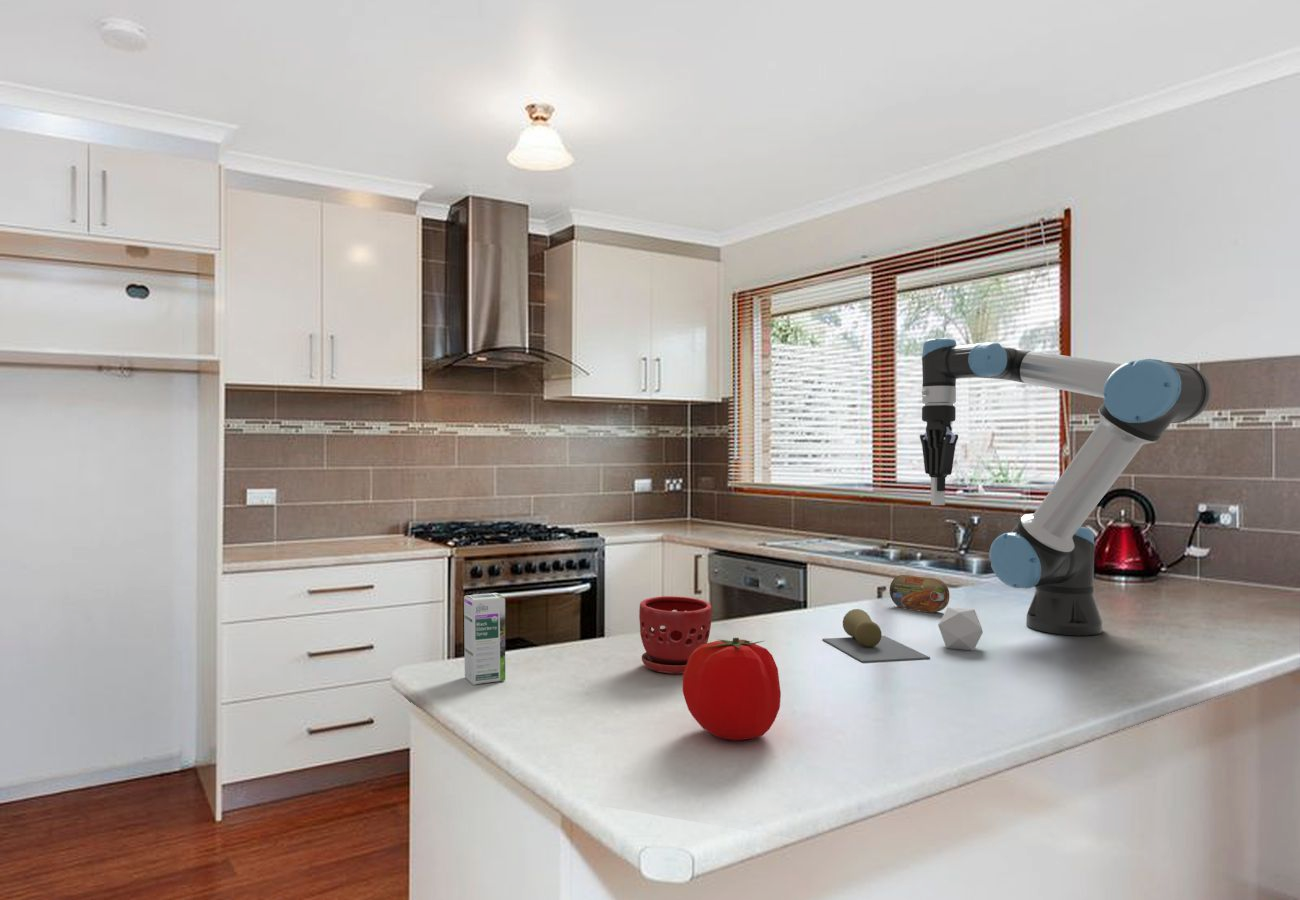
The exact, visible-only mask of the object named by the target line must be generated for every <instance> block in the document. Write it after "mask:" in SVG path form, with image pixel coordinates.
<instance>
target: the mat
mask: <svg viewBox="0 0 1300 900" xmlns="http://www.w3.org/2000/svg"><path fill="white" fill-rule="evenodd" d="M822 641H823V642H825V643H827V644H829V645H831V646H832V647H834V648H836V649H837V650H839V651H841V652H843V653H845V654H846V655H848V656H850V657H852V658H853V659H855V660H857V661H858V662H860V663H877V662H895V661H896V662H897V661H898V662H899V661H916V660H931V656H928V655H926V654H924V653H923V652H920V651H918V650H915V649H914V648H911V647H909V646H907V645H905V644H903V643H901V642H899V641H897V640H894V639H892V638H890V637H888V636H886V635H882V637H881V640H880V642H879V643H878V644H877V645H876V646H873V647H864V646H862V645H861V644H859V642H858V641H857V640H856V638H854V637H851V636H850V637H833V638H831V637H830V638H829V637H828V638H827V637H826V638H822Z"/></svg>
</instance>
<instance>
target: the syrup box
mask: <svg viewBox="0 0 1300 900" xmlns="http://www.w3.org/2000/svg"><path fill="white" fill-rule="evenodd" d="M463 615H464V617H463V618H464V619H463V620H464V622H463V625H464V627H463V629H464V630H463V632H464V633H463V635H464V637H463V638H464V642H463V643H464V645H463V646H464V678H465V679H466V680H467V681H468V682H469V683H470V684H471V685H473V686H475V685H481V684H488V683H489V684H490V683H496V682H504V681H506V598H505V597H504V596H503V595H502V594H500V593H498V592H492V593H480V594H470V595H464V596H463Z"/></svg>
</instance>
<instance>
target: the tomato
mask: <svg viewBox="0 0 1300 900" xmlns="http://www.w3.org/2000/svg"><path fill="white" fill-rule="evenodd" d="M763 642H764V640H761V641H756V642H755V641H754V642H753V640H746V639H742V638H741V639H740V638H739V637H733V638H732V640H727V639H719V640H716V641H715V640H714V641H711V642H707V644H703V645H700V646H699V647H698V648H697V649H695V650H694V652H693V653H692V654H691V656H690V657H689V658H688V662H687V665H686V668H685V671H684V673H682V674H683V675H682V693H683V694H682V695H683V697H684V701H685V703H686V707H687V709H688V711H689V713H690V714H691V716H692V718H693V719H694V720H695V721H696V722H697V723H698V725H699V726H700V727H701V728H702V729H703V730H705V731H707V732H709V733H710V734H712V735H714V736H715V737H717V738H718V739H723V740H731V741H744V740H750V739H754V738H759V737H762V736H764V735H765V734H766V733H767V732H768V731H769V730H770V729H771V727H772V726H773V724H774V723H775V721H776V719H777V717H778V716H777V715H778V713H779V711H780V708H781V696H782V695H781V694H782V692H781V684H780V677H779V675H780V674H779V668H778V666H777V663H776V662H775V659H774V656H773V655H772V653H771V652H770V651H769V650H768V649H767V647H763V646H761V645H759V643H763Z"/></svg>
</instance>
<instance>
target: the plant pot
mask: <svg viewBox="0 0 1300 900" xmlns="http://www.w3.org/2000/svg"><path fill="white" fill-rule="evenodd" d="M712 611H713V610H712V605H711V604H710V602H707V601H705V600H703V599H699V598H696V597H695V598H694V597H687V596H676V595H675V596H672V595H671V596H669V595H667V596H666V595H665V596H655V597H650V598H646V599H643V600H641V602H640V603H639V610H638V612H639V614H638V615H639V618H638V619H639V629H640V630H639V633H640V638H641V644H642V646H643V648H644V651H645V652H644V653H642V655H641V662H642V663H643V665H644V666H645V667H647V668H648V669H650V670H651V671H655V672H658V673H664V674H670V675H671V674H673V675H675V674H676V675H679V674H684V671H685V668H686V665H687V662H688V658H689V657H690V656H691V654H692V653H693V652H694V650H695V649H697V648H698V647H699V646H700V645H703V644H707V643H709V642H708V641H709V638H710V633H711V625H712ZM661 627H664V628H661ZM652 629H653V630H652Z"/></svg>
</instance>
